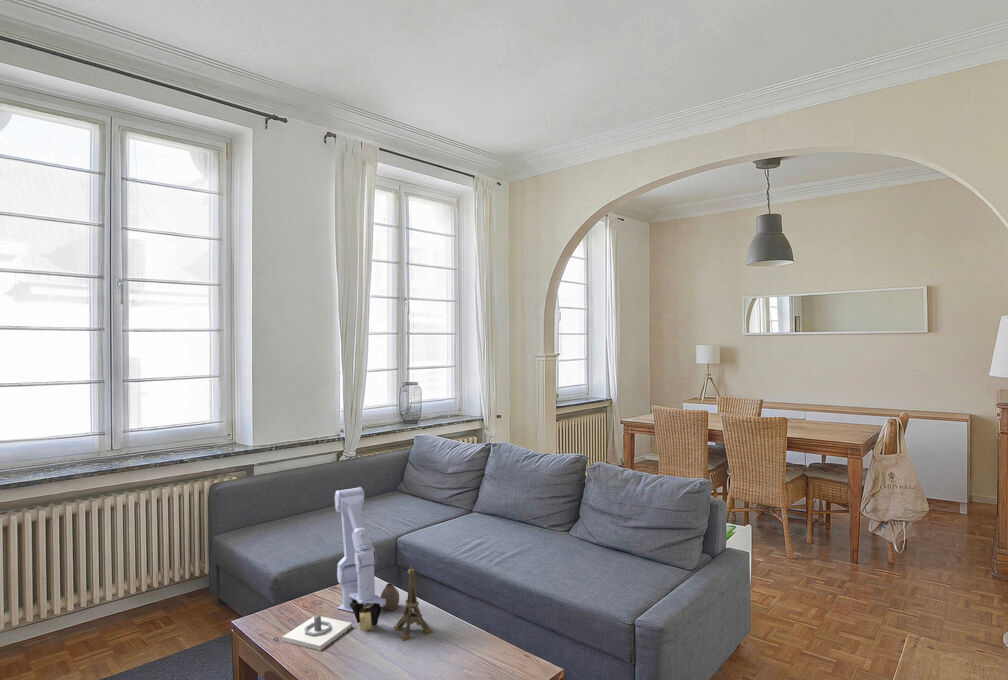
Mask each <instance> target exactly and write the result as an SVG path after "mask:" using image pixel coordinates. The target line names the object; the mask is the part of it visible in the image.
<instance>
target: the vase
mask: <svg viewBox="0 0 1008 680" xmlns="http://www.w3.org/2000/svg"><path fill="white" fill-rule="evenodd" d="M380 594H381V595H380V597H381V598H383V599H386V605H384V606H383V607H382V609H384V610H385V611H393V609H394V610H395V609H396V608H397V607H398V606H399V604H400V593H399V590H398V589H397V588H396V587H395V586H394V584H393V583H391V582H389V583H387V584H386V585H385V587H384V588H383V590H382V592H381V593H380Z"/></svg>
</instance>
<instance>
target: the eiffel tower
mask: <svg viewBox="0 0 1008 680" xmlns="http://www.w3.org/2000/svg"><path fill="white" fill-rule="evenodd" d="M407 569H408V568H407ZM415 571H416V570H415V569H414V568H413V564H410V568H409V569H408V570H407V573H408V588H407V598H406V600H405V604H406V605H405V609H404V612H402V616H401V617H400V618H399V620H398V621H397V622H396V624H395V626H393V629H394V630H395V631H396V632H397V631H400V630H403V631H402V634H401V636H400V640H401V641H402V642H406V641H409V640H410V641H411V639H412V638H411V636H410V635H411V634H410V631H411V625H413V624H416V625H417V626H421V628H422V633H423V634H424V635H425V636H428V635H431V634H434V632H433V631H432V629H431V628H430V627H429V626H428V624H427V622H426V621H425V620H424V619H423V614H422V613H421V612H420V608H419V605H420V602H419V601H418V599H417V598H418V597H417V591H416V585H415V584H416V583H415V582H416V581H415V576H414V574H416V572H415ZM405 624H406V625H405ZM404 626H405V628H404Z"/></svg>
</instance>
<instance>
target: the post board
mask: <svg viewBox="0 0 1008 680" xmlns="http://www.w3.org/2000/svg"><path fill="white" fill-rule="evenodd" d="M351 627H352V628H353V623H352V622H348V621H344V620H339V619H335V618H330V617H325V616H322V615H320V614H317V615H314V616H313V617H311V618H310V619H309V618H308V620H306V621H304V622H303V623H302V624H300V625H298V626H297V627H295V628H293V629H292V630H291V631H289V632H287V633H285V634H284V635H283V636H281V637H282V642H285V643H289V644H293V645H298V646H301V647H305V648H307V649H308V648H309V649H312V650H317V651H321V650H323V649H324V648H326V647H327V646H329V645H330V644H331V643H333V642H334V641H335V640H337V639H339V636H340V637H341V636H343V633H344V634H345V633H346V632H347V630H348V629H349V630H351V629H352V628H351ZM350 628H351V629H350ZM349 630H348V631H349ZM332 641H333V642H332Z"/></svg>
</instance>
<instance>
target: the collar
mask: <svg viewBox="0 0 1008 680" xmlns="http://www.w3.org/2000/svg"><path fill="white" fill-rule="evenodd" d="M370 607H371V606H365V607H364V606H363V608H362V609H360V610H359V621H360V622H359V629H360V631H362V630H364V631H363V632H368V630H369V631H372V630H373V629H375V628H376V625H375V626H372V617H371V612H370V610H369V608H370ZM374 627H375V628H374Z"/></svg>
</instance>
